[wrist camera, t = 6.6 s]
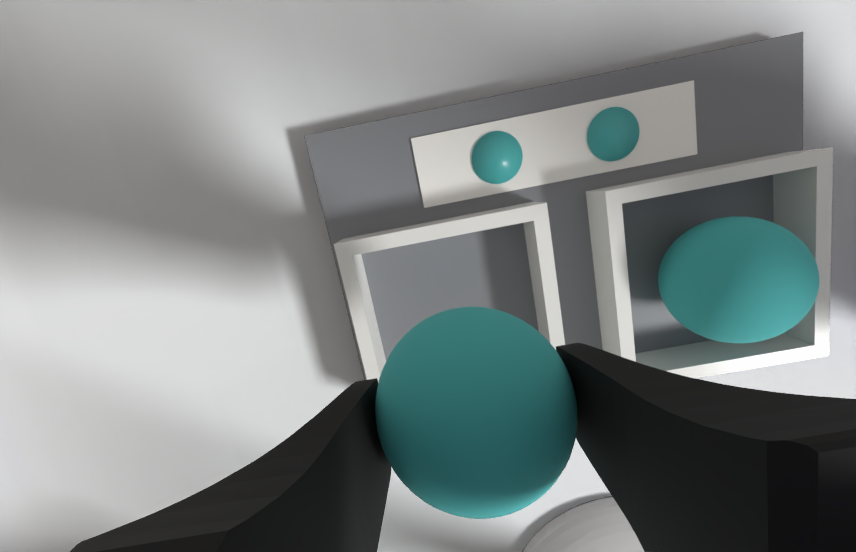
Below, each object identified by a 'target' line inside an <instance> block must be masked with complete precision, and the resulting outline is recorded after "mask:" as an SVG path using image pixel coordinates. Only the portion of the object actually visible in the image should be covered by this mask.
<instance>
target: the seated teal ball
mask: <svg viewBox="0 0 856 552" xmlns="http://www.w3.org/2000/svg"><path fill="white" fill-rule="evenodd" d="M658 284H659V291H660V294H661V298H662V300H663V302H664V304H665V306H666V307H667V309H668V311H669V312H670V313H671V314H672V316H673V317H674V318H675V319H676V320H677V321H678V322H679V323H681V324H682V325H683V326H684V327H686V328H687V329H689V330H691V331H692V332H694V333H696V334H698V335H701V336H703V337H705V338H708V339H712V340H715V341H720V342H726V343H752V342H759V341H763V340H767V339H770V338H773V337H776V336H778V335H780V334H783V333H785V332H786V331H788V330H789V329H791V328H792V327H794V326H795V325H797V324H798V323H799V322H800V321H801V320H802V319H803V318H804V317H805V316H806V315H807V314H808V312H809V311H810V309H811V308H812V306H813V304H814V302H815V300H816V297H817V294H818V290H819V271H818V267H817V263H816V261H815V258H814V257H813V255H812V253H811V251H810V250H809V248H808V247H807V246H806V245H805V243H804V242H803V241H802V240H800V239H799V238H798V237H797V236H796V235H795V234H793V233H792V232H790V231H789V230H787V229H786V228H784V227H782V226H780V225H778V224H775V223H773V222H770V221H767V220H763V219H759V218H753V217H724V218H718V219H714V220H710V221H707V222H704V223H702V224H699V225H697V226H695V227H693V228H691V229H689V230H688V231H686V232H685V233H684V234H682V235H681V236H680V237H679V238H677V239H676V240H675V241H674V242H673V244H672V245H671V246H670V247H669V249H668V250H667V251H666V253H665V255H664V257H663V259H662V262H661V265H660V268H659V274H658Z"/></svg>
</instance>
